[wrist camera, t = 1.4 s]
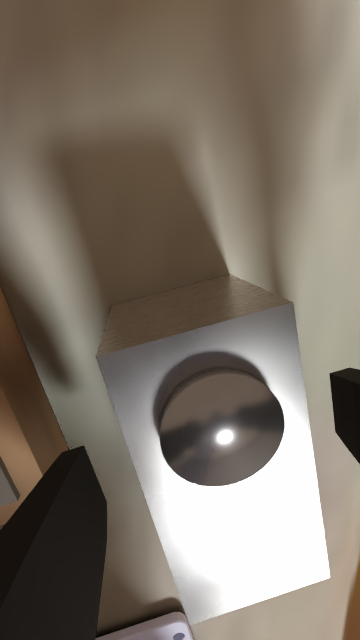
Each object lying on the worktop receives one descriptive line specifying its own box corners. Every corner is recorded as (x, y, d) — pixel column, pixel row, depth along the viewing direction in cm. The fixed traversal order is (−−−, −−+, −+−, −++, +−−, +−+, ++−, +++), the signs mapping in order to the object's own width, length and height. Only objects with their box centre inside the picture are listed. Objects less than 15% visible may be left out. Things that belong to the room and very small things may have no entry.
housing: (265, 462, 13) (339, 593, 8) (171, 491, 13) (192, 644, 8) (228, 273, 10) (303, 306, 6) (111, 304, 10) (93, 365, 6)
